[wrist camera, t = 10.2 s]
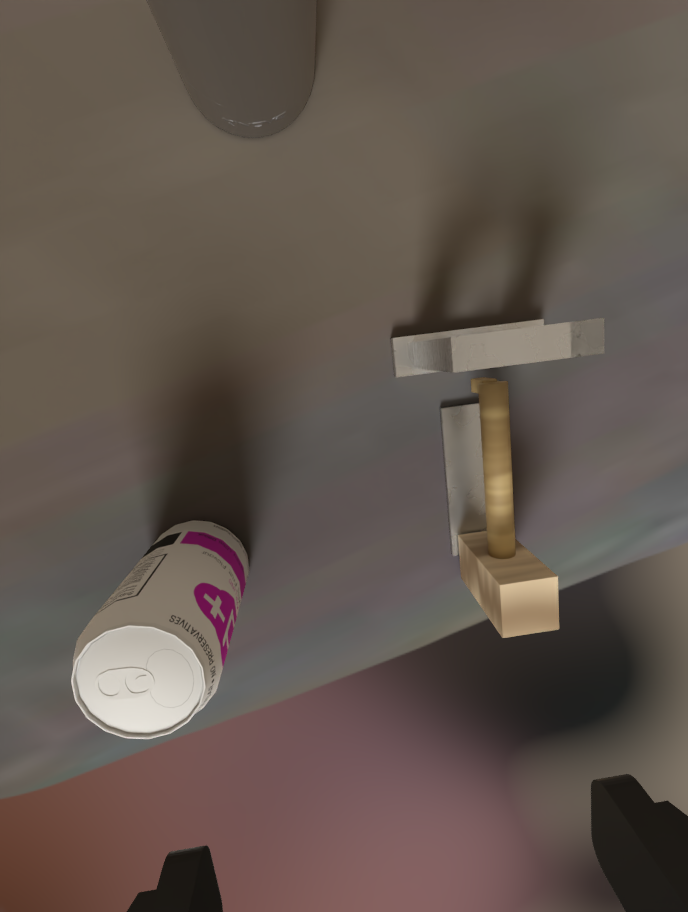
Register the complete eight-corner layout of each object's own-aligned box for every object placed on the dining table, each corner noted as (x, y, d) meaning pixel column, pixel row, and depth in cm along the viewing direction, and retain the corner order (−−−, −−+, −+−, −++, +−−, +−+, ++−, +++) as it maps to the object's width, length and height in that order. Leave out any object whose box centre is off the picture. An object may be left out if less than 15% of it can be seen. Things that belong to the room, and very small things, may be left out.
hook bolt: (446, 380, 37) (489, 387, 28) (495, 374, 37) (552, 379, 29) (461, 577, 41) (502, 638, 32) (505, 570, 41) (559, 629, 32)
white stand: (390, 338, 37) (424, 331, 26) (537, 320, 38) (629, 305, 27) (412, 559, 41) (448, 631, 30) (544, 540, 42) (626, 603, 31)
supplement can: (244, 513, 39) (206, 607, 24) (254, 602, 41) (224, 740, 26) (145, 521, 39) (46, 622, 24) (159, 611, 40) (75, 756, 26)
